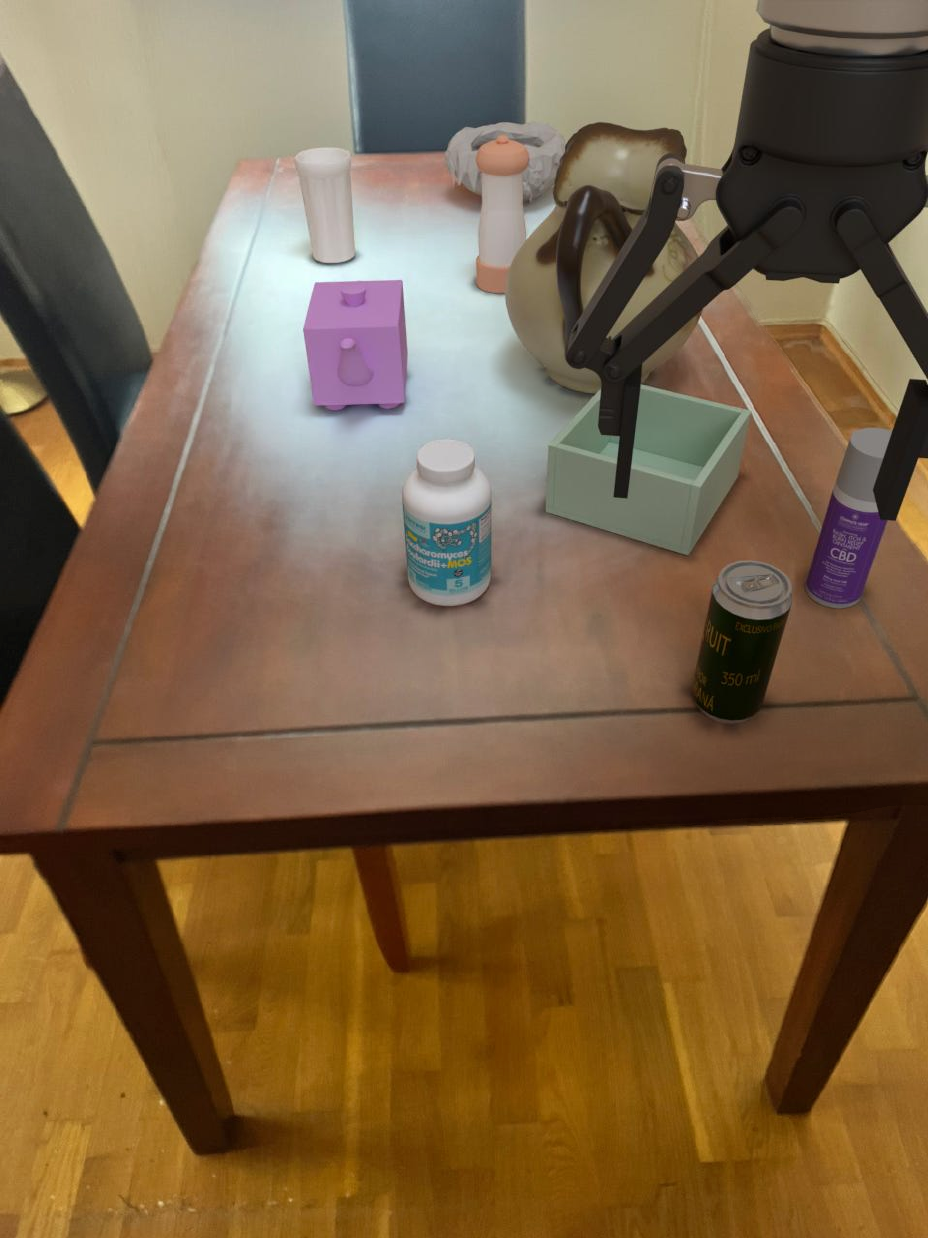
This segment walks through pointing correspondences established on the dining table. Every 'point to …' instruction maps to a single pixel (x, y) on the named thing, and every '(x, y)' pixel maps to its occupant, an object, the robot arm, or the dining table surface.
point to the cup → (327, 202)
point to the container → (850, 525)
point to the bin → (650, 468)
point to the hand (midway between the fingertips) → (750, 494)
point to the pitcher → (593, 246)
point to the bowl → (535, 137)
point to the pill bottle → (447, 524)
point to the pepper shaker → (500, 210)
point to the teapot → (357, 343)
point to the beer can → (741, 640)
